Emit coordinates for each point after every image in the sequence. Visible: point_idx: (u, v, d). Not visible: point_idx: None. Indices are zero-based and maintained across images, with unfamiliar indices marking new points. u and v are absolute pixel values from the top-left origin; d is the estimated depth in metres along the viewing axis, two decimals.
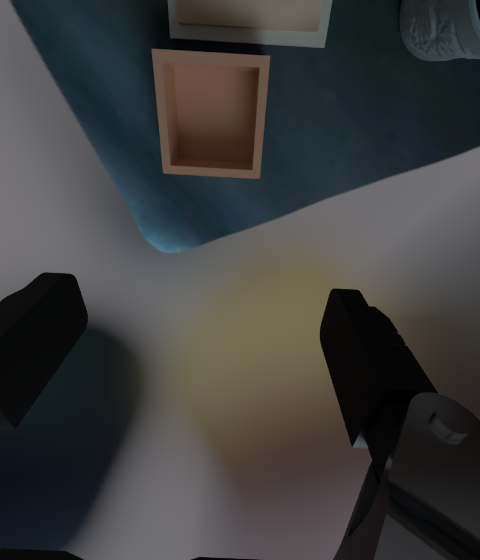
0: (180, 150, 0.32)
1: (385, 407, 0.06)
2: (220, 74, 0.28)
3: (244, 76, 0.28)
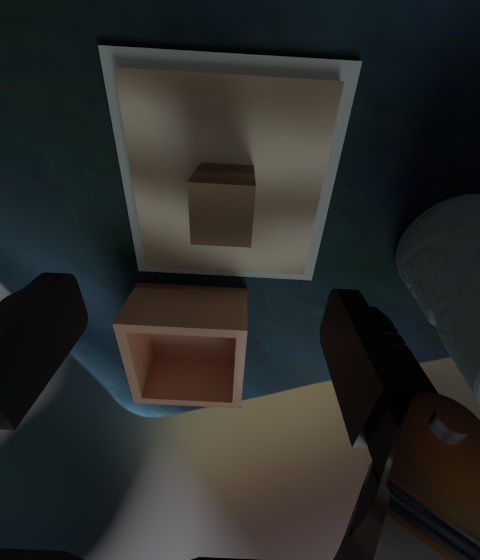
0: (155, 353, 0.29)
1: (384, 406, 0.06)
2: None
3: None
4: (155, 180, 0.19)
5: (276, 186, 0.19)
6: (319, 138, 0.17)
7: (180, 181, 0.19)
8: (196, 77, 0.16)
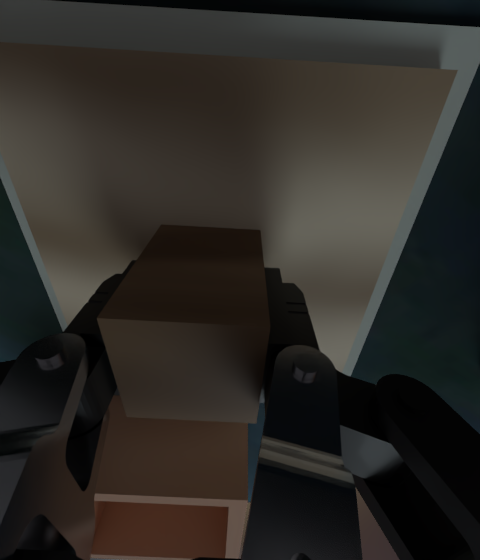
0: None
1: (271, 360, 0.06)
2: None
3: None
4: (81, 252, 0.10)
5: (301, 263, 0.10)
6: (388, 183, 0.09)
7: (127, 254, 0.10)
8: (137, 61, 0.07)
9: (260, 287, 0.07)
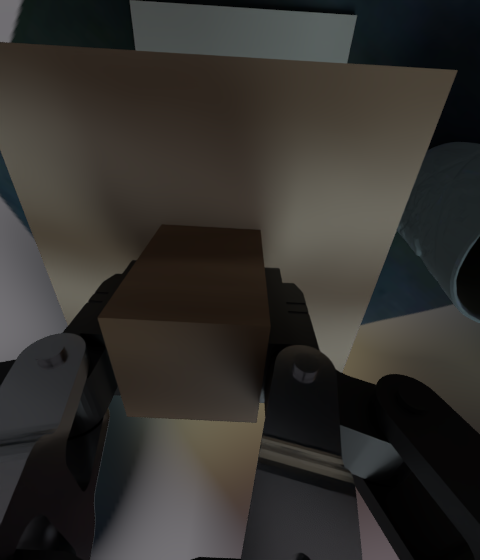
0: None
1: (271, 360, 0.06)
2: None
3: None
4: (82, 252, 0.10)
5: (301, 262, 0.10)
6: (388, 183, 0.09)
7: (127, 254, 0.10)
8: (137, 61, 0.07)
9: (260, 287, 0.07)
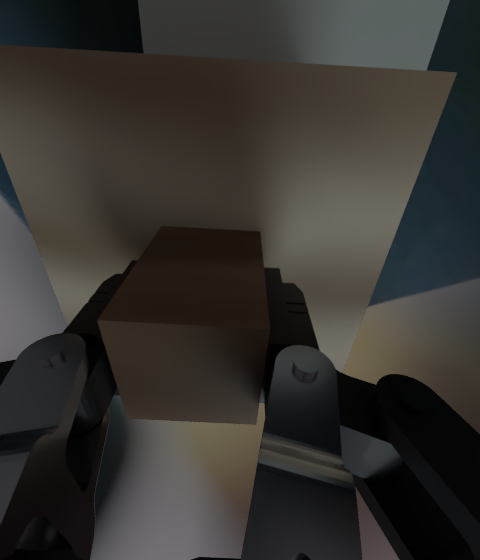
0: None
1: (271, 360, 0.06)
2: None
3: None
4: (82, 253, 0.10)
5: (301, 264, 0.10)
6: (388, 185, 0.09)
7: (127, 255, 0.10)
8: (138, 63, 0.07)
9: (260, 289, 0.07)
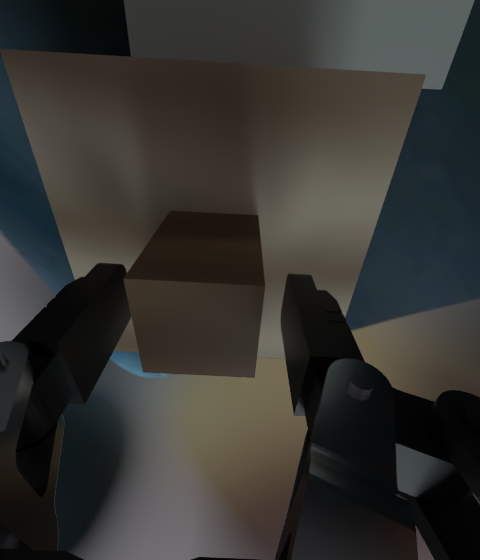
0: None
1: (315, 374, 0.06)
2: None
3: None
4: (98, 236, 0.12)
5: (295, 245, 0.12)
6: (371, 173, 0.10)
7: (139, 238, 0.12)
8: (152, 66, 0.09)
9: (257, 258, 0.08)
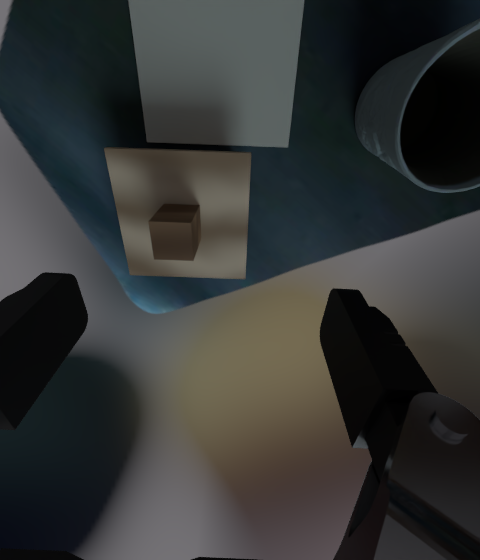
0: None
1: (385, 406, 0.06)
2: None
3: None
4: (134, 215, 0.28)
5: (217, 218, 0.28)
6: (241, 187, 0.26)
7: (151, 215, 0.28)
8: (156, 152, 0.25)
9: (192, 217, 0.24)
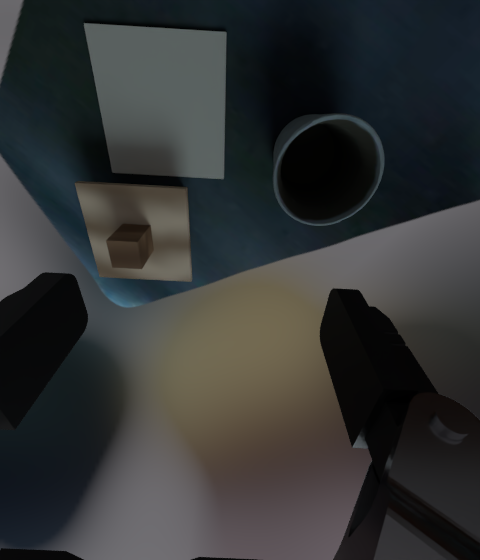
0: None
1: (384, 406, 0.06)
2: None
3: None
4: (100, 231, 0.36)
5: (164, 234, 0.36)
6: (180, 212, 0.34)
7: (113, 232, 0.36)
8: (114, 186, 0.32)
9: (140, 236, 0.32)
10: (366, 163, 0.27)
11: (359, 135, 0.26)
